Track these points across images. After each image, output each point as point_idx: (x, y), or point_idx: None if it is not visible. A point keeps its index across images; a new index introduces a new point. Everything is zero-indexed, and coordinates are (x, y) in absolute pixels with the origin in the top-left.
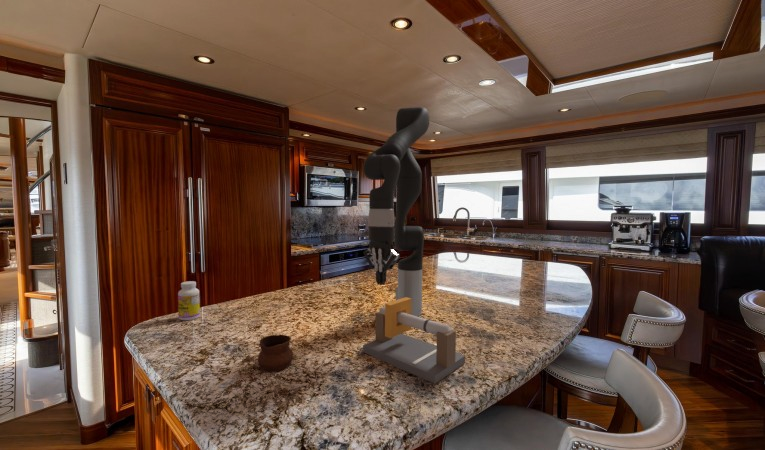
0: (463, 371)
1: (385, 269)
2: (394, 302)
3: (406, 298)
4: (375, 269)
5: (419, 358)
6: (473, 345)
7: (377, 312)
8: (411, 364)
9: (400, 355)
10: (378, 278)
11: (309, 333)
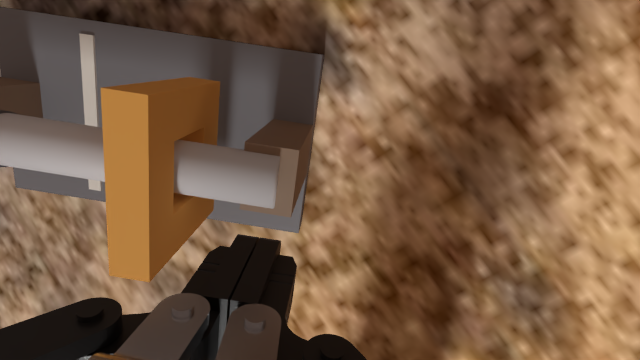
0: None
1: (90, 307)
2: (125, 153)
3: (129, 260)
4: (261, 313)
5: (93, 78)
6: (83, 296)
7: (293, 159)
8: (90, 27)
9: (159, 65)
10: (249, 261)
11: (633, 63)
